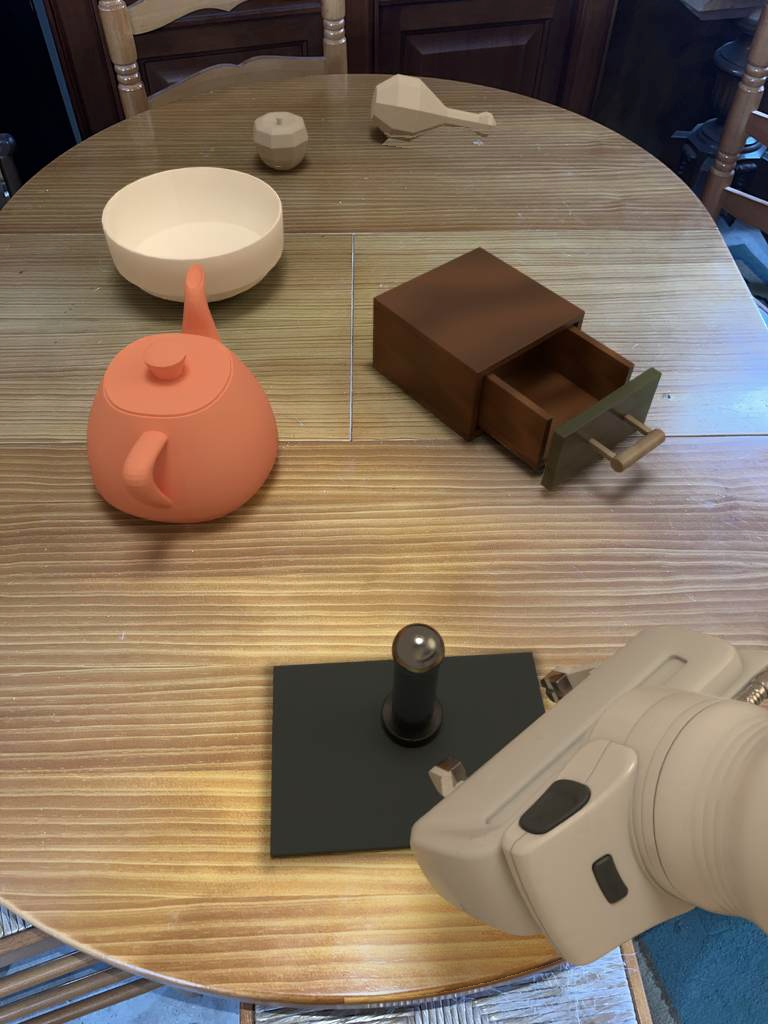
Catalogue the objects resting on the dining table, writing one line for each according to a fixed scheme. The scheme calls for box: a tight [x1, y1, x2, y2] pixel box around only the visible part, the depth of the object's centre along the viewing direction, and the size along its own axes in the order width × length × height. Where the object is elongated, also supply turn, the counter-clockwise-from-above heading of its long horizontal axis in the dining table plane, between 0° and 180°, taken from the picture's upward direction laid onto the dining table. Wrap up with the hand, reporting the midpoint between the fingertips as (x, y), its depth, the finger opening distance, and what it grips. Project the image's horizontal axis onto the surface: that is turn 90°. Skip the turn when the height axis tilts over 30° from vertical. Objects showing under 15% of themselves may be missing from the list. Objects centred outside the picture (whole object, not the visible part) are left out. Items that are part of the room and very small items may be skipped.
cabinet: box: [372, 246, 586, 443], centre depth 82 cm, size 15×15×9 cm
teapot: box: [86, 264, 279, 524], centre depth 72 cm, size 25×17×13 cm
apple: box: [252, 111, 309, 171], centre depth 112 cm, size 8×8×7 cm
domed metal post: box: [381, 622, 446, 748], centre depth 55 cm, size 4×4×12 cm
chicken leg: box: [370, 73, 497, 143], centre depth 118 cm, size 8×18×8 cm, turn 94°
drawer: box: [476, 325, 667, 492], centre depth 76 cm, size 18×13×7 cm
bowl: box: [101, 166, 284, 304], centre depth 93 cm, size 20×20×8 cm
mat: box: [269, 651, 546, 859], centre depth 58 cm, size 20×14×1 cm
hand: (498, 727), depth 50 cm, fingers open, 8 cm apart
